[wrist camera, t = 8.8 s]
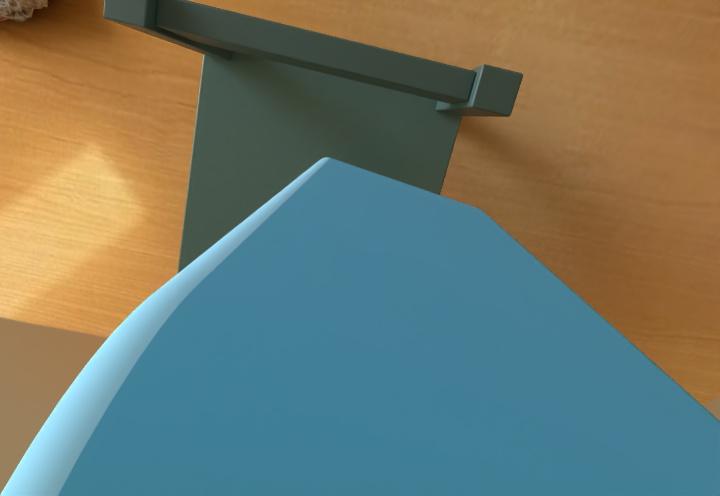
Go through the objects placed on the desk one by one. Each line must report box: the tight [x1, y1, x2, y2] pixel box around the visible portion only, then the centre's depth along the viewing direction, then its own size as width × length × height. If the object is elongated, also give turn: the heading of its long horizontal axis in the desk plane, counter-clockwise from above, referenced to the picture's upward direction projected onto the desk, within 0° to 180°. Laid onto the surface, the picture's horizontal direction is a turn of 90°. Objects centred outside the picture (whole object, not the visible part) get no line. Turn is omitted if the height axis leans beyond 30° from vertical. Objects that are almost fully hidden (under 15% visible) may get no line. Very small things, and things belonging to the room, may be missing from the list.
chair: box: [103, 0, 523, 273], centre depth 25 cm, size 14×18×17 cm
